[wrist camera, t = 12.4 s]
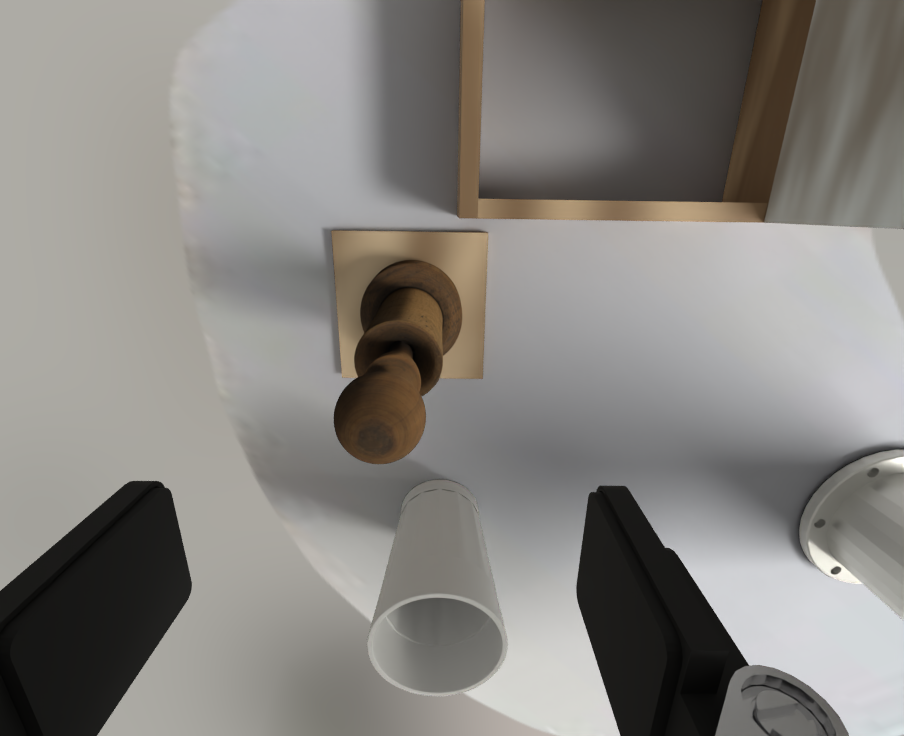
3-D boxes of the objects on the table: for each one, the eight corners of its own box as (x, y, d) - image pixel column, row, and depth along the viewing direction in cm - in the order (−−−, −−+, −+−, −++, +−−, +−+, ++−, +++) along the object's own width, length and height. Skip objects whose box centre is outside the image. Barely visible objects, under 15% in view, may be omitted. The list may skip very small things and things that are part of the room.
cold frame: (859, -48, 25) (2648, -1136, 5) (790, 220, 30) (1531, 256, 9) (461, -58, 25) (537, -1285, 4) (457, 215, 29) (482, 243, 9)
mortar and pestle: (481, 319, 31) (523, 458, 14) (406, 373, 32) (363, 559, 15) (421, 238, 29) (387, 286, 12) (344, 298, 30) (217, 416, 13)
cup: (375, 488, 36) (343, 617, 25) (469, 457, 35) (481, 576, 24) (412, 562, 39) (399, 710, 28) (501, 535, 38) (525, 676, 27)
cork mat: (487, 232, 30) (488, 232, 29) (481, 375, 33) (482, 378, 32) (333, 230, 29) (331, 230, 29) (343, 374, 33) (342, 377, 32)
